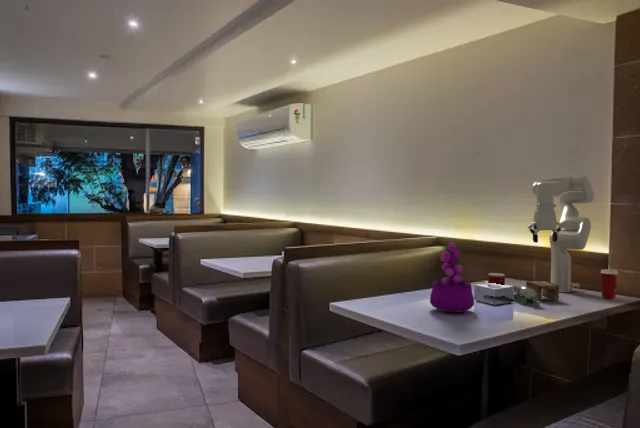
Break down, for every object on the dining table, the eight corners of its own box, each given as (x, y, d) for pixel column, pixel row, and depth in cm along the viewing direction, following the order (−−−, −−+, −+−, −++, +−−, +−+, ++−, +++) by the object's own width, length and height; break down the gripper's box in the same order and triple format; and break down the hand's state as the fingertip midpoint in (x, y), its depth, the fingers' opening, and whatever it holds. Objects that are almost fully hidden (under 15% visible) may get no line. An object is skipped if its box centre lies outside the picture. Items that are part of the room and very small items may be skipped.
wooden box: (545, 296, 249) (545, 281, 249) (558, 301, 237) (558, 285, 237) (526, 296, 249) (526, 281, 248) (537, 301, 237) (538, 285, 237)
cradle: (526, 299, 242) (527, 293, 242) (539, 305, 230) (539, 298, 230) (510, 299, 241) (510, 293, 241) (522, 305, 229) (522, 298, 229)
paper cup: (621, 300, 240) (621, 271, 240) (605, 300, 240) (605, 271, 240) (611, 297, 248) (612, 269, 247) (596, 297, 248) (596, 269, 248)
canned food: (501, 298, 245) (502, 275, 245) (485, 296, 250) (485, 274, 250) (506, 295, 252) (507, 273, 251) (490, 293, 256) (491, 272, 256)
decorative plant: (443, 317, 207) (443, 245, 206) (422, 307, 224) (422, 241, 223) (482, 314, 212) (483, 243, 211) (459, 305, 229) (460, 240, 228)
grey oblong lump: (512, 294, 243) (511, 284, 243) (522, 293, 243) (521, 283, 243) (527, 301, 228) (526, 290, 228) (538, 299, 228) (537, 288, 228)
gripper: (558, 206, 249) (558, 240, 251) (524, 207, 248) (524, 241, 250) (566, 207, 242) (566, 242, 243) (531, 208, 241) (531, 243, 242)
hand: (545, 241), depth 246 cm, fingers open, 9 cm apart
